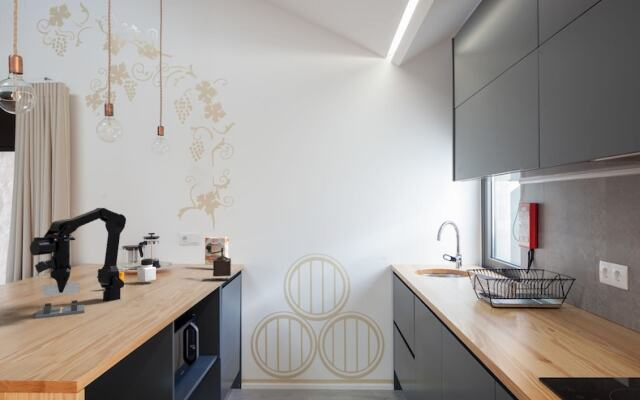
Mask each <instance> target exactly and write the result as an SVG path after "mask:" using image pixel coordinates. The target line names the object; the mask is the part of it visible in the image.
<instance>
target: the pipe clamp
mask: <svg viewBox="0 0 640 400" xmlns="http://www.w3.org/2000/svg"><path fill="white" fill-rule="evenodd" d="M119 278H120V279H121V280H122V281H123V282H124V283H125V272H124V271H119Z"/></svg>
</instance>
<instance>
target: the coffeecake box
mask: <svg viewBox="0 0 640 400" xmlns="http://www.w3.org/2000/svg"><path fill="white" fill-rule="evenodd" d="M204 239H205V240H204V247H205V248H204V265H205V266H213V260H214V259H217V258H218V257H220V256H221V252H219V253H214V254H210V253H208V250H207V249H206V246H207V245H211V246H212V248H211V250H212V252H218V251H221V248H223V256H225V257H227V258H229V255H230V253H229V252H230V251H229V241H230V240H229V236H206V237H204ZM212 252H211V253H212Z"/></svg>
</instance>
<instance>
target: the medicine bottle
mask: <svg viewBox="0 0 640 400" xmlns="http://www.w3.org/2000/svg"><path fill="white" fill-rule="evenodd" d="M153 265H154V262H153V259H152V258H143V259H141V260H140V267H137V281H139V282H145V283H146V282H150V281H156V280H157V267H156V266H153Z"/></svg>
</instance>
